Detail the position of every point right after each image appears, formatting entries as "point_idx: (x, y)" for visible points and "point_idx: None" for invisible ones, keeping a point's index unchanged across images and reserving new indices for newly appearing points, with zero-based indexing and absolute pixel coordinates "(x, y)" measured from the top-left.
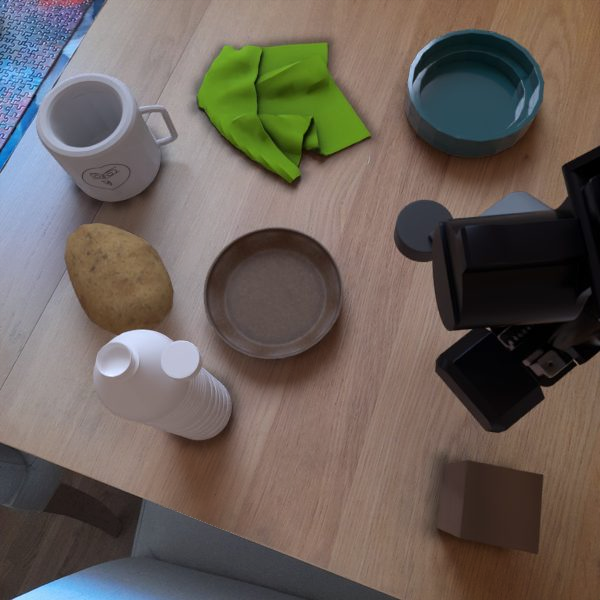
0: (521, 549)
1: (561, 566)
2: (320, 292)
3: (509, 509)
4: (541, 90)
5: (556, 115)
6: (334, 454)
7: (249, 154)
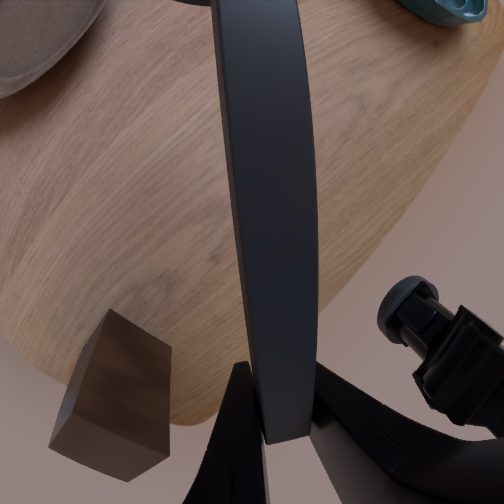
0: (111, 476)
1: (181, 413)
2: (79, 21)
3: (110, 459)
4: (483, 14)
5: (472, 44)
6: (4, 237)
7: None
